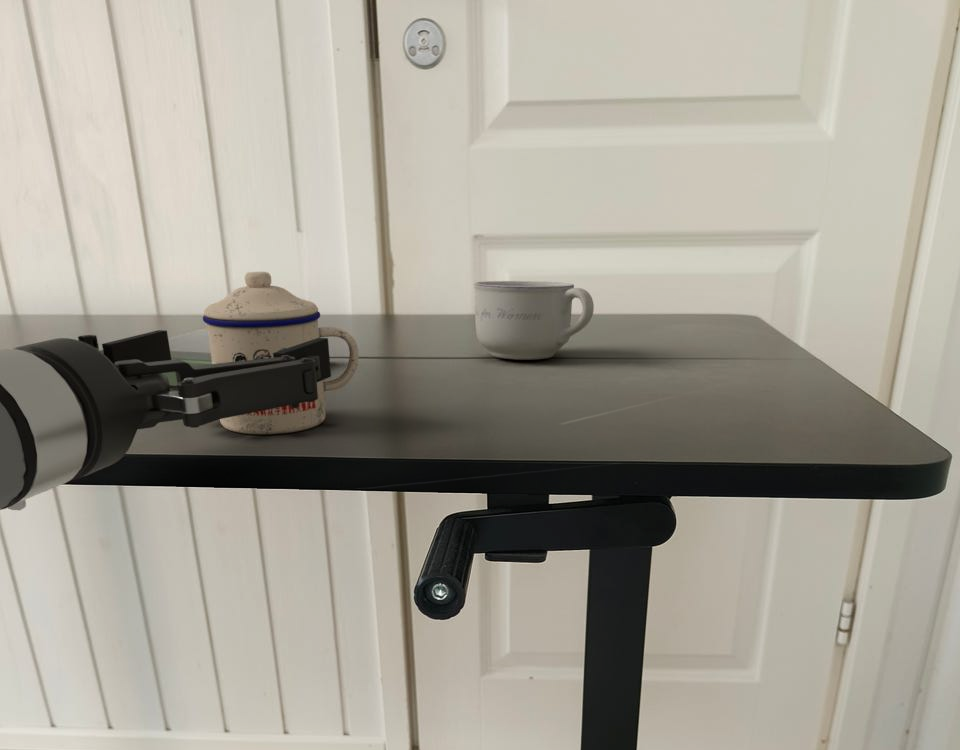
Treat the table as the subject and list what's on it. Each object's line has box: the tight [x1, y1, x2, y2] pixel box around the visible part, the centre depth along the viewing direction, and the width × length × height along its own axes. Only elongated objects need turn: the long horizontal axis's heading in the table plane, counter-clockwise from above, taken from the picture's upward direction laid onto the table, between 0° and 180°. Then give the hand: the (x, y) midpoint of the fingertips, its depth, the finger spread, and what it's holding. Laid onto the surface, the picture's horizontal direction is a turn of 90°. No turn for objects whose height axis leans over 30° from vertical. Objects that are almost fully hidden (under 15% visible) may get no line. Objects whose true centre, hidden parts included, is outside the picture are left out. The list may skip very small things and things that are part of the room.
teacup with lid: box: [202, 271, 360, 435], centre depth 74 cm, size 12×9×12 cm
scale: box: [164, 328, 212, 387], centre depth 95 cm, size 16×15×3 cm
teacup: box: [473, 280, 595, 361], centre depth 99 cm, size 14×11×8 cm
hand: (243, 352), depth 68 cm, fingers open, 13 cm apart
